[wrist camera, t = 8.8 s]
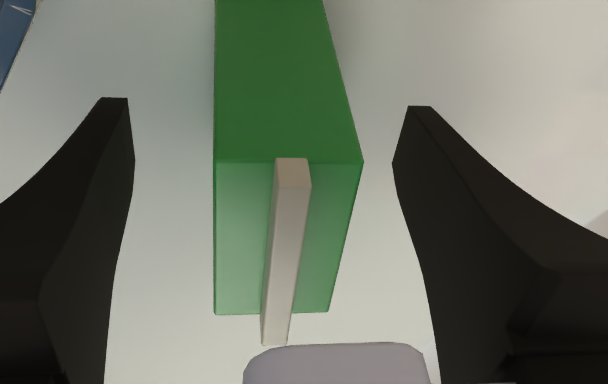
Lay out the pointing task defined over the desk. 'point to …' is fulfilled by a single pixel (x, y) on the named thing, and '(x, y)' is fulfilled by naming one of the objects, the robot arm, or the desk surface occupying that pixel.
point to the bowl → (14, 31)
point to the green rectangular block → (279, 162)
